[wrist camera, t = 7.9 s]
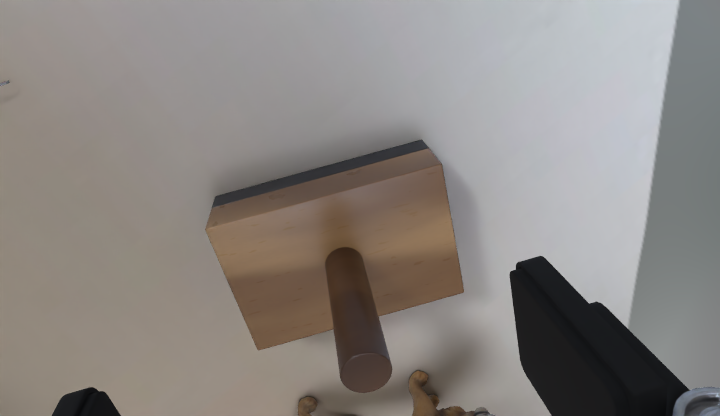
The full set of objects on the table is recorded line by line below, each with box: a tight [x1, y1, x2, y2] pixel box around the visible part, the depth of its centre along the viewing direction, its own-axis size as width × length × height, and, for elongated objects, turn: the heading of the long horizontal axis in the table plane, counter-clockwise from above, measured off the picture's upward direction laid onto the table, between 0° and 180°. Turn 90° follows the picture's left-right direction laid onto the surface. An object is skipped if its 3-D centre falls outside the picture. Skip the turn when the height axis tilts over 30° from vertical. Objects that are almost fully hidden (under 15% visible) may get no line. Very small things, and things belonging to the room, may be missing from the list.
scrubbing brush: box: [205, 140, 464, 393], centre depth 24 cm, size 12×12×8 cm
